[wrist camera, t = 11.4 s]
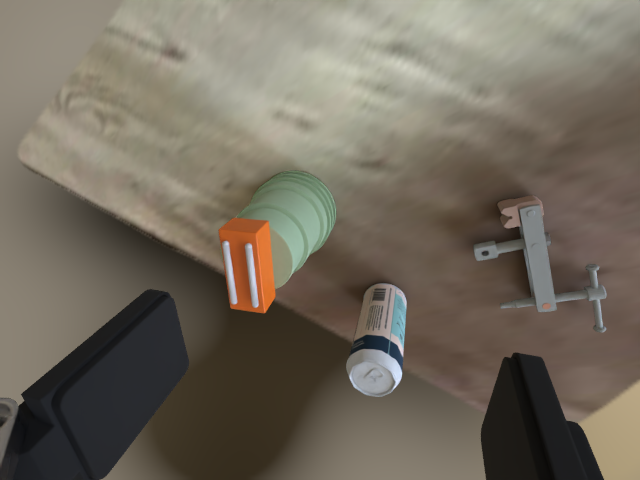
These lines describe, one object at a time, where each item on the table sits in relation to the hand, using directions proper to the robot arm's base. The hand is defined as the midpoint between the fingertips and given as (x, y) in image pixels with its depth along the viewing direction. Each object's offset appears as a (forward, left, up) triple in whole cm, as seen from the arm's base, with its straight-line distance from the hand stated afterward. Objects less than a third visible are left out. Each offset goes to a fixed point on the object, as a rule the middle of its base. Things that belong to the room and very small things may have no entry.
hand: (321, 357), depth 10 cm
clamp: (+10, +14, -27) cm, 32 cm away
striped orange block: (+6, -10, -16) cm, 20 cm away
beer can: (+16, 0, -27) cm, 31 cm away
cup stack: (+6, -10, -27) cm, 29 cm away
